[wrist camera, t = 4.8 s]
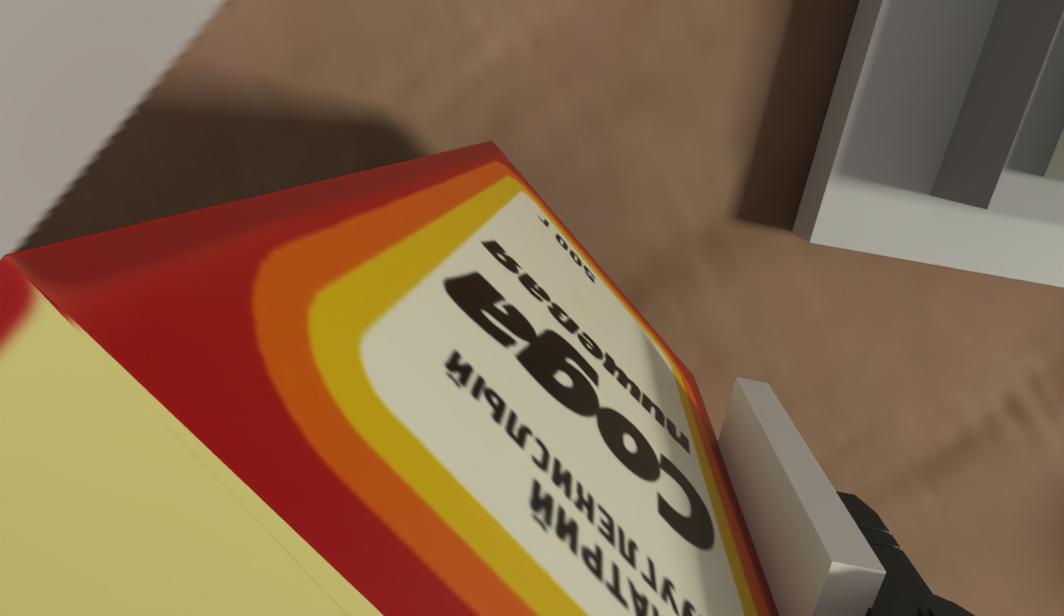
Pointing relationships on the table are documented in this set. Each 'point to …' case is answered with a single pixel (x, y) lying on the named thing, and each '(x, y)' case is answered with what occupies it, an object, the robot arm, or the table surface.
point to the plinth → (946, 138)
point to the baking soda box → (355, 416)
